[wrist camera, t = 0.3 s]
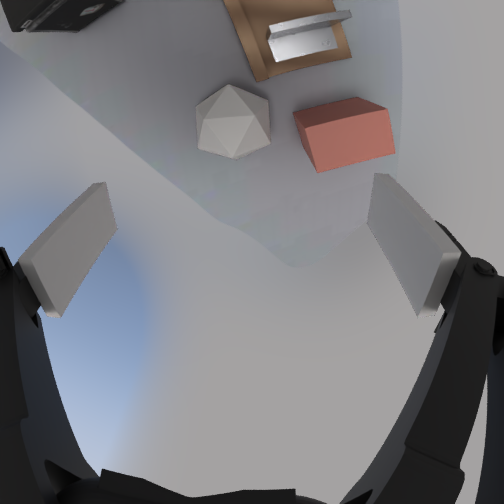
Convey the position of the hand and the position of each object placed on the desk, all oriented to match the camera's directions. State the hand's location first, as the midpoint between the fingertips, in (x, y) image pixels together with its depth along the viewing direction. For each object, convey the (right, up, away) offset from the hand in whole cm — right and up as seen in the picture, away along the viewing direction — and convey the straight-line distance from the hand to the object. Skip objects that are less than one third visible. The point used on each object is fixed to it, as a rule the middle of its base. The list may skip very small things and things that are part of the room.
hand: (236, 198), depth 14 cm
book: (+11, +15, +22) cm, 29 cm away
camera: (-21, +33, +10) cm, 40 cm away
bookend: (+7, +23, +15) cm, 28 cm away
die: (-1, +15, +22) cm, 27 cm away
